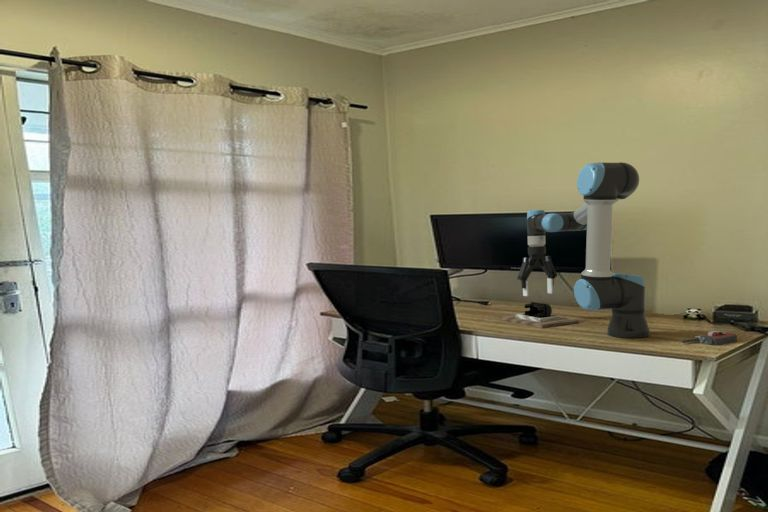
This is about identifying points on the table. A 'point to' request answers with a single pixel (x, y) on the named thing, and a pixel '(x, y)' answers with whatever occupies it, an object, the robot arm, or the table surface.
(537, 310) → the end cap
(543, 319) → the lens rest
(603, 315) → the table surface
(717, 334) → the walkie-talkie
